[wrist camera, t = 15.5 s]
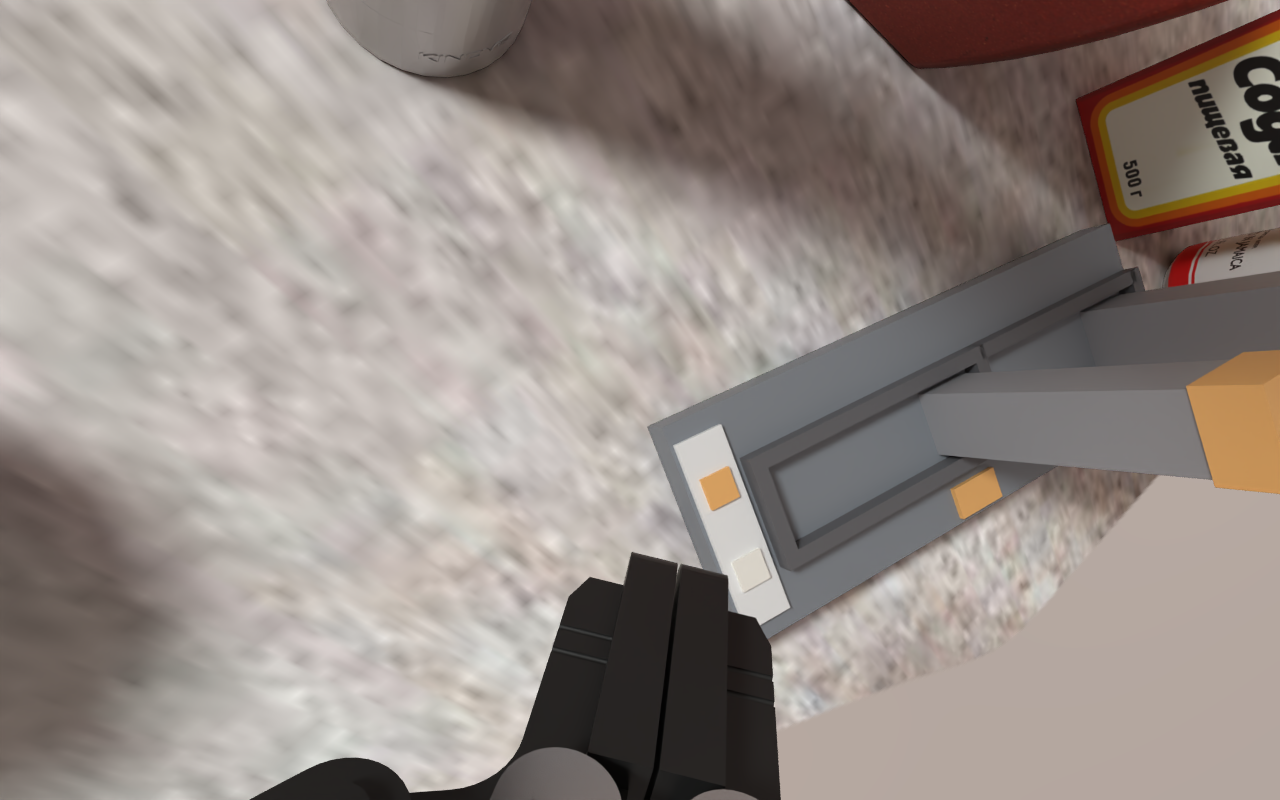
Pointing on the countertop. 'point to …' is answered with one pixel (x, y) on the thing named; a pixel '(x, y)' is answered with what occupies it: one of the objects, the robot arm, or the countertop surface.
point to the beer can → (1226, 259)
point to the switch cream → (1186, 322)
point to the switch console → (871, 434)
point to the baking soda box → (1190, 134)
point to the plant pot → (1009, 25)
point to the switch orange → (1122, 418)
